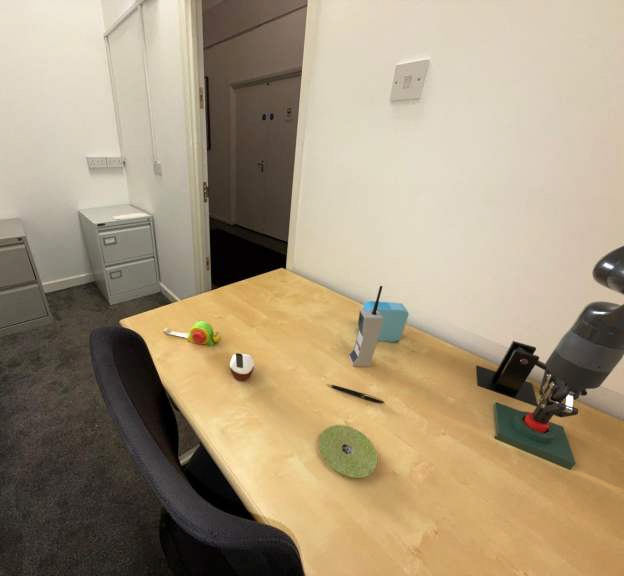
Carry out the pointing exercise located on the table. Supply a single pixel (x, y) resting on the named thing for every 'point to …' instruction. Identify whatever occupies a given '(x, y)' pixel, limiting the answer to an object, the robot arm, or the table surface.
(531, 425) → the button
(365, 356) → the vintage mobile phone
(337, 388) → the fountain pen
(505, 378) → the switch bracket
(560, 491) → the table surface
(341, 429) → the green grinding wheel
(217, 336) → the toy measuring tape
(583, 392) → the switch lever
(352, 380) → the table surface
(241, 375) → the cupcake
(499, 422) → the control block
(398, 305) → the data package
